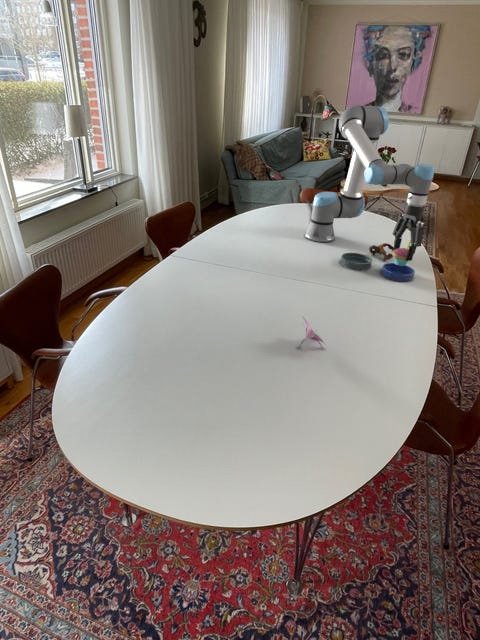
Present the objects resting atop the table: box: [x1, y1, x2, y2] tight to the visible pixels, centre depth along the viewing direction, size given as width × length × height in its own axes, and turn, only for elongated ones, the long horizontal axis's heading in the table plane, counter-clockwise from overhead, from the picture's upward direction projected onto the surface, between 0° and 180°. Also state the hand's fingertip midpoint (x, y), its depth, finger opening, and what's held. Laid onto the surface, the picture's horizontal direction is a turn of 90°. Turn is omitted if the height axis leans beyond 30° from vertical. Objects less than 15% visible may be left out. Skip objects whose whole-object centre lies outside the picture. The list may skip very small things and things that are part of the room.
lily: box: [297, 314, 327, 349], centre depth 136 cm, size 12×12×10 cm
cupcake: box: [391, 239, 411, 266], centre depth 186 cm, size 9×8×12 cm
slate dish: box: [340, 252, 373, 271], centre depth 200 cm, size 14×14×3 cm
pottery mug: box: [368, 242, 394, 262], centre depth 208 cm, size 12×10×8 cm
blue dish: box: [380, 262, 416, 282], centre depth 191 cm, size 14×14×3 cm
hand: (401, 256), depth 188 cm, fingers closed on cupcake, 8 cm apart
